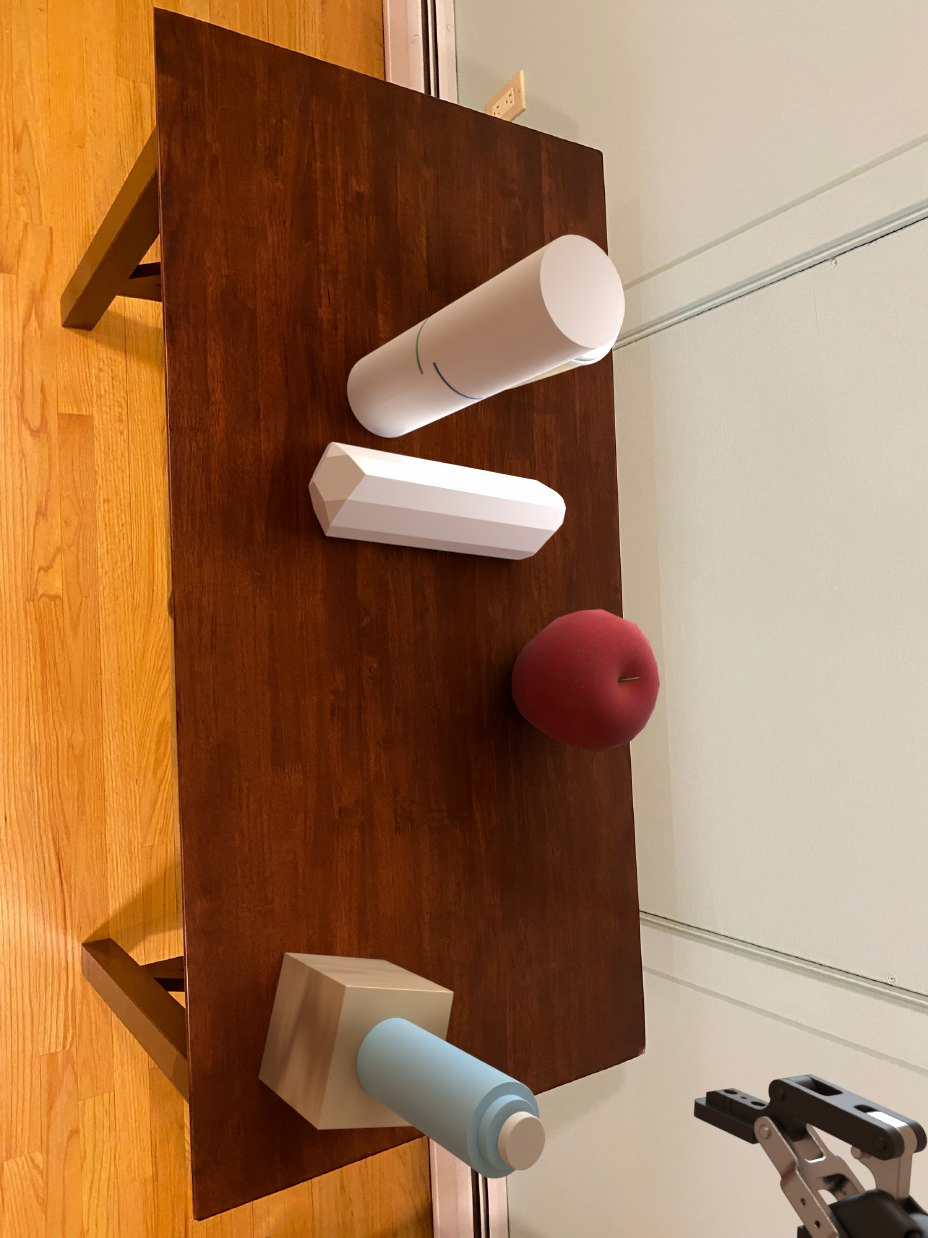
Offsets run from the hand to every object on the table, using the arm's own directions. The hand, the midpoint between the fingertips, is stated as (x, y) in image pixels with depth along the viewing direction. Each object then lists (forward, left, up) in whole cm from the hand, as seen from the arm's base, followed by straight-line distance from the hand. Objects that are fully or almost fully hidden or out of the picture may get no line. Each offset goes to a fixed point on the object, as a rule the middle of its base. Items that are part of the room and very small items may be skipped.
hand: (699, 1199), depth 45 cm
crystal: (+41, +2, -35) cm, 54 cm away
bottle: (-1, +2, -25) cm, 25 cm away
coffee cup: (+58, -2, -35) cm, 68 cm away
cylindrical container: (+49, +8, -35) cm, 61 cm away
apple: (+29, -13, -35) cm, 47 cm away
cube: (-1, +2, -35) cm, 35 cm away
